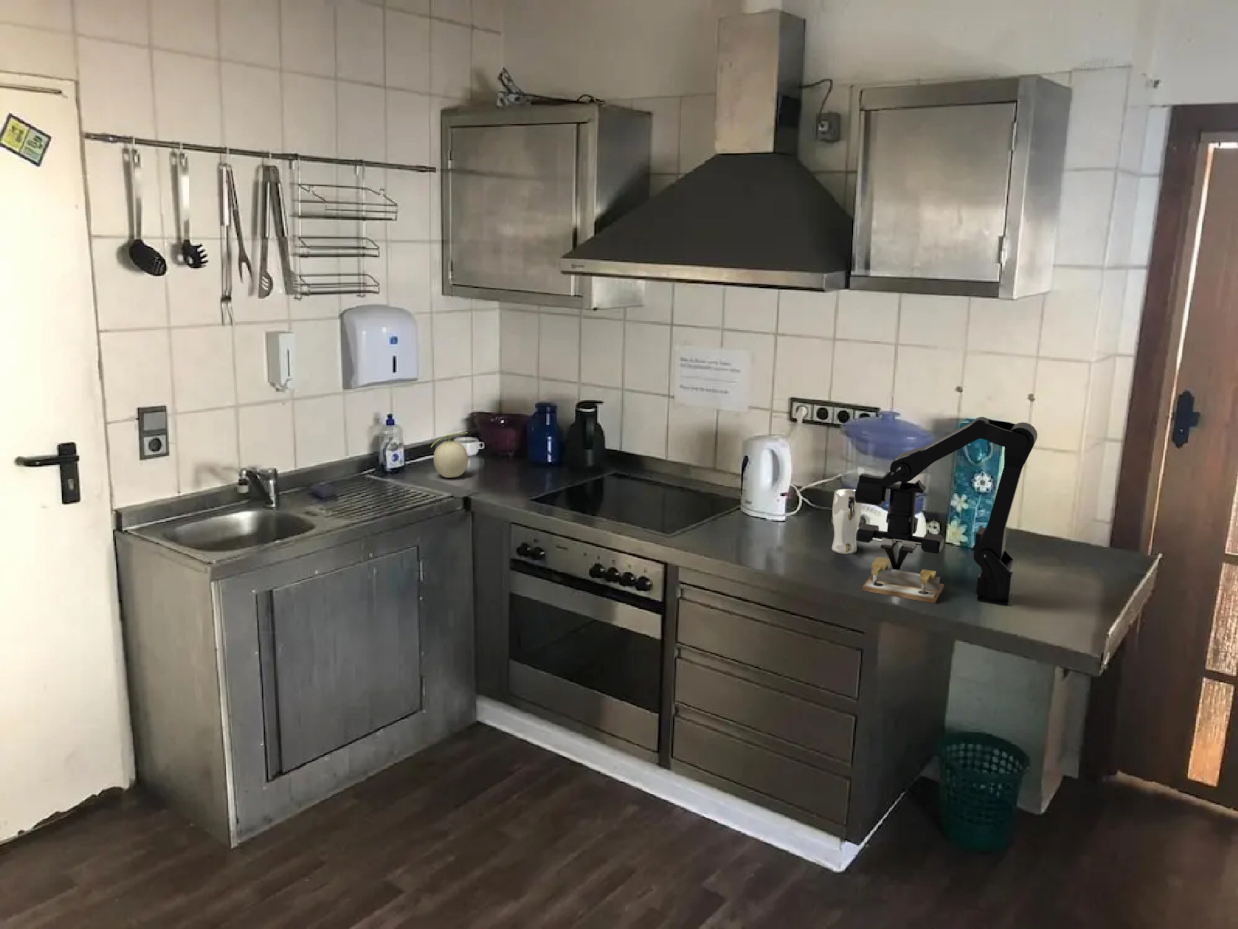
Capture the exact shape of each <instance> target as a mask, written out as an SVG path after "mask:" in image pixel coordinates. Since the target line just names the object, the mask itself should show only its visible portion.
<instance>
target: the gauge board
mask: <svg viewBox="0 0 1238 929" xmlns="http://www.w3.org/2000/svg"><path fill="white" fill-rule="evenodd" d="M872 569H873V568H870V576H869V578H868V579H867V580H866V581H865V583H864V584H863V585H862V590H861V591H865V592H870V593H873V594H874V593H876V594H882V595H886V596H891V597H897V598H904V599H909V600H914V601H919V602H924V603H932V604H936V603H937V601H938V599H939V598H940V596H941V594H942V592H943V591H944V588H945V584H944V583H941V580H940V579H941V576H937V571H935V570H929V569H924V568H923V569H921V571H920V573H919V572H912V571H907V570H901V569H900V570H895V569H893V568H890V569H889V568H886V569H885V570H883V569H881V572H880V573H879V574H878V575H877V583H876V584H874V583H873V574H872Z"/></svg>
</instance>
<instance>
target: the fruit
mask: <svg viewBox="0 0 1238 929" xmlns="http://www.w3.org/2000/svg"><path fill="white" fill-rule="evenodd" d="M464 434H468V431H465V432H455V433H450V434H445V435H444V436H441V437H440V438H439V439H437V440H436V441H434V442H433V443H432V444H431V446H430V448H431V449H432V448H433V446H434V445H435V444H436V443H437V442H439V441H440V440H443V439H445V438H447V441H446V440H445V441H443V442H441V443H440V444H438V446H436V448H435V450H434V452H433V465H434V468H435V470H436V471H437V473H438V474H440V476H442V477H444V478H448V479H449V478H450V479H451V478H452V479H453V478H458V477H461V475H463V473H464V472H465V471H466V470H467V467H468V464H469V456H468V453H467V452H468V451H467V449H466V448H465V445H463V444H462V443H460V442H459V441H457V440H452V439H451V437H453V436H457V435H464Z"/></svg>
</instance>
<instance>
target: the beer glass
mask: <svg viewBox="0 0 1238 929" xmlns="http://www.w3.org/2000/svg"><path fill="white" fill-rule="evenodd" d="M855 490H856V489H851V488H839V489H836V490H834V494H833V502H832V523H833V530H834V535H833V536H834V537H833V540H832V541H833V542H832V546H831V549H832V551H833V552H834V553H838V554H844V555H845V554H847V555H849V554H850V555H851V554H855V553H856V552H857V541H856V532H857V530H858V529H859V524H860V521H861V514H862V505H863V504H862V503H856V501H855Z"/></svg>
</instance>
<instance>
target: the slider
mask: <svg viewBox="0 0 1238 929" xmlns="http://www.w3.org/2000/svg"><path fill="white" fill-rule="evenodd" d="M871 568H873V569H872V574H873V583H874V584H876V583H877V575H878V574H879V573H880V572H881V569H883V570H885V569H886V568H889V569H891V562H890V559H889V557H887V558H886V557H881V556H877V557H876V558H875V560H874V561H873V562H872V563H871ZM871 568H870V569H871Z"/></svg>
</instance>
